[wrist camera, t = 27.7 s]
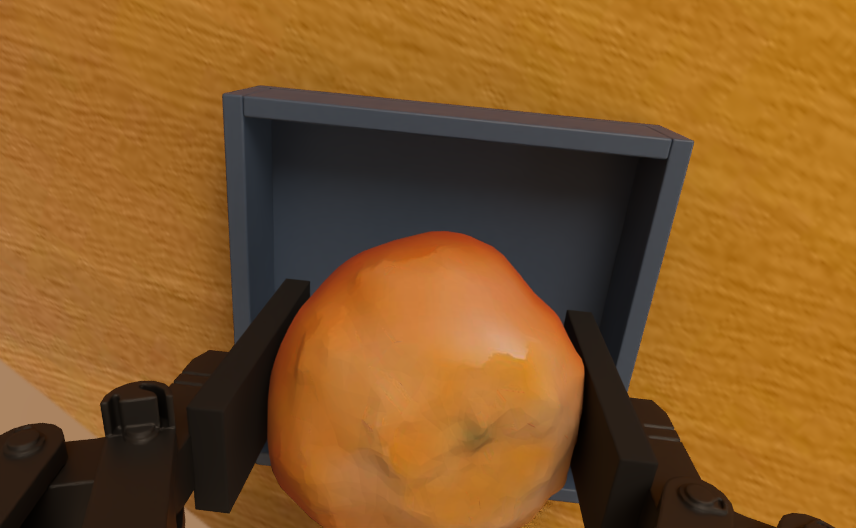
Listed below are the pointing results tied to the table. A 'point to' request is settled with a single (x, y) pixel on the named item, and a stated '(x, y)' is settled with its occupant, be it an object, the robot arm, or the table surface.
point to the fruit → (424, 392)
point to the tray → (451, 199)
